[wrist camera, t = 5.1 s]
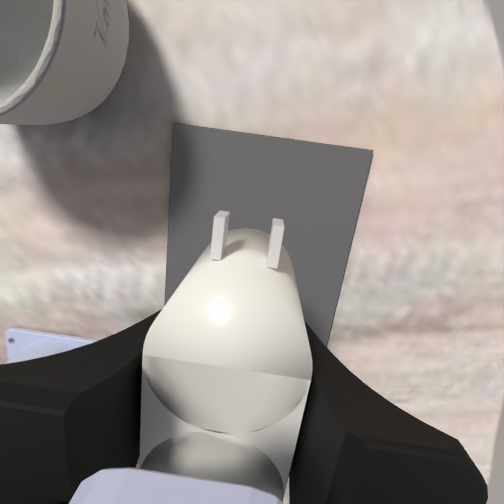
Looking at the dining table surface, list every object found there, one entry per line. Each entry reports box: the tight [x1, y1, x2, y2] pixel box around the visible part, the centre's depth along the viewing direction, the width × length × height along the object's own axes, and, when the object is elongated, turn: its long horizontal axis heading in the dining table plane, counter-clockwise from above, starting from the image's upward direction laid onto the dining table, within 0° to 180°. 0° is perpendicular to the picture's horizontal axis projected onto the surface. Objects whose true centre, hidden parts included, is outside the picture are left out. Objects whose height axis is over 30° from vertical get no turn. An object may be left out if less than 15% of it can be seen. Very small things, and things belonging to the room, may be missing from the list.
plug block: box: [139, 211, 312, 502], centre depth 10 cm, size 9×4×6 cm, turn 172°
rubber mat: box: [164, 123, 374, 346], centre depth 21 cm, size 16×12×1 cm
